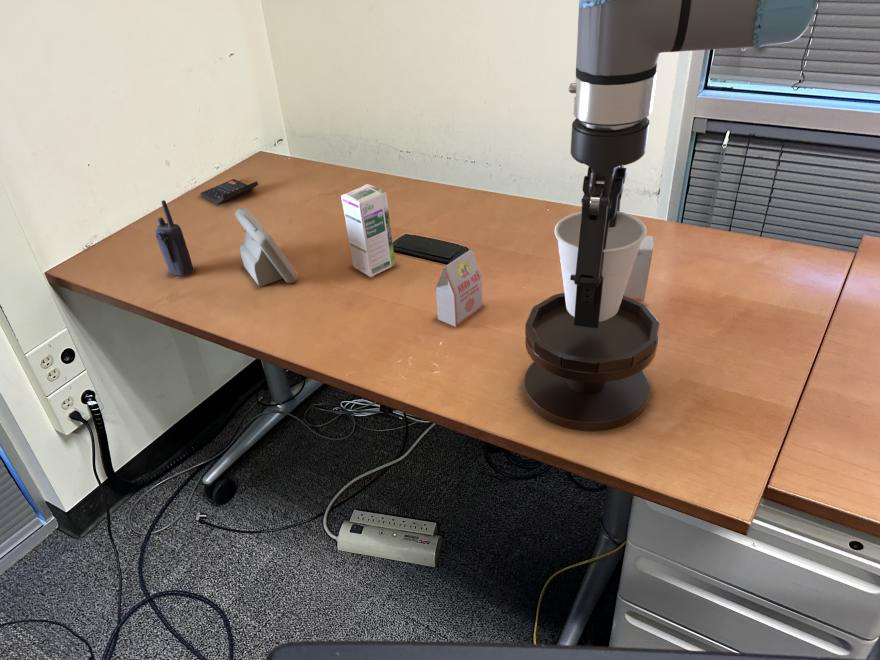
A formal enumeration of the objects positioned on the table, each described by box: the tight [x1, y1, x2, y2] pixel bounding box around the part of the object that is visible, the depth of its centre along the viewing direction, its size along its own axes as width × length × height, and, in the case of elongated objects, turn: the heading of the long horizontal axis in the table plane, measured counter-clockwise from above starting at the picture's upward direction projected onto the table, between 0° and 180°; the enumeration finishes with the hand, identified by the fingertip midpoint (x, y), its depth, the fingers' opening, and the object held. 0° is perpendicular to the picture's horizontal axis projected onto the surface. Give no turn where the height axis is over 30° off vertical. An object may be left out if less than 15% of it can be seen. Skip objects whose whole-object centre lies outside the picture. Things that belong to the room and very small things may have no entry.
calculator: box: [199, 178, 259, 205], centre depth 159 cm, size 9×12×3 cm
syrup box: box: [340, 183, 396, 278], centre depth 121 cm, size 6×6×14 cm
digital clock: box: [234, 207, 298, 287], centre depth 126 cm, size 16×9×11 cm, turn 14°
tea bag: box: [435, 249, 483, 328], centre depth 107 cm, size 4×7×10 cm, turn 134°
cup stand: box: [523, 292, 660, 432], centre depth 89 cm, size 16×16×11 cm
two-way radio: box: [154, 199, 195, 277], centre depth 128 cm, size 6×4×15 cm
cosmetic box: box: [624, 235, 655, 305], centre depth 102 cm, size 6×4×12 cm
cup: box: [553, 210, 647, 322], centre depth 81 cm, size 10×10×11 cm
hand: (592, 304), depth 84 cm, fingers closed on cup, 8 cm apart
